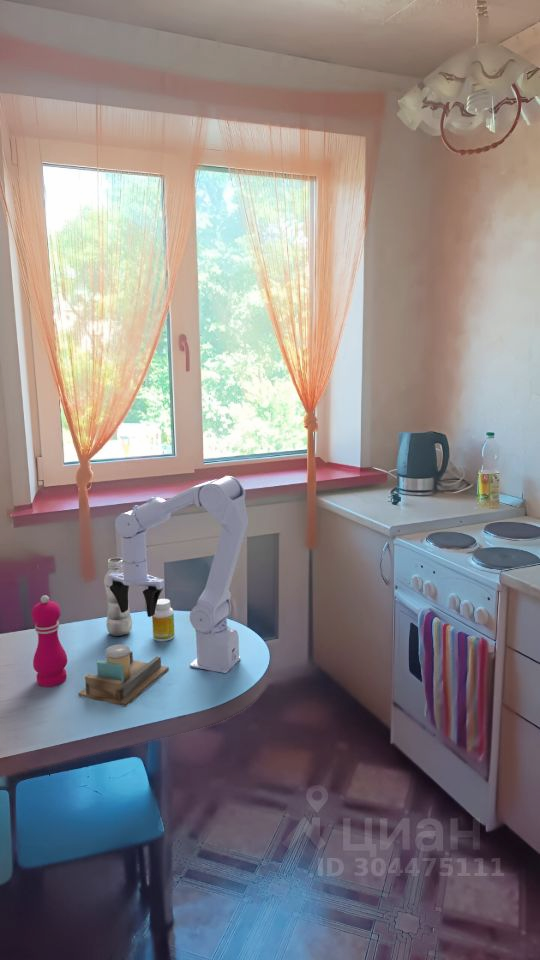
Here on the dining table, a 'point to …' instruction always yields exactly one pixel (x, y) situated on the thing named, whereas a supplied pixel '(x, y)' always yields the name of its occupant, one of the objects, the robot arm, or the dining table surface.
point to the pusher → (110, 670)
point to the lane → (128, 690)
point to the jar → (120, 658)
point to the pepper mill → (48, 644)
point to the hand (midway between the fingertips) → (137, 613)
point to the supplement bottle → (163, 621)
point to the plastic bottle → (116, 604)
